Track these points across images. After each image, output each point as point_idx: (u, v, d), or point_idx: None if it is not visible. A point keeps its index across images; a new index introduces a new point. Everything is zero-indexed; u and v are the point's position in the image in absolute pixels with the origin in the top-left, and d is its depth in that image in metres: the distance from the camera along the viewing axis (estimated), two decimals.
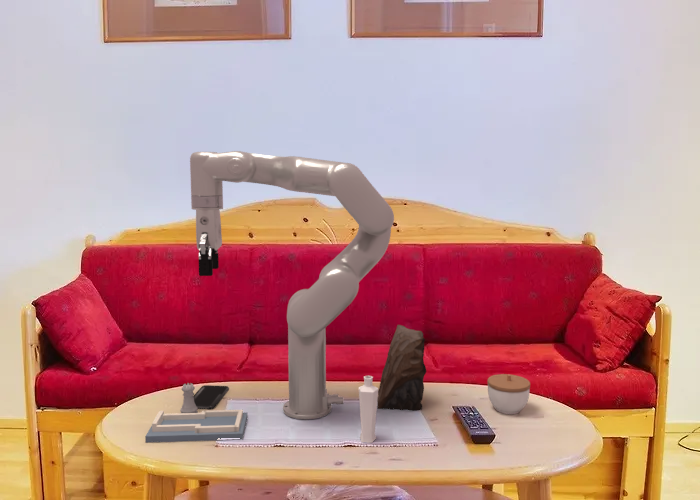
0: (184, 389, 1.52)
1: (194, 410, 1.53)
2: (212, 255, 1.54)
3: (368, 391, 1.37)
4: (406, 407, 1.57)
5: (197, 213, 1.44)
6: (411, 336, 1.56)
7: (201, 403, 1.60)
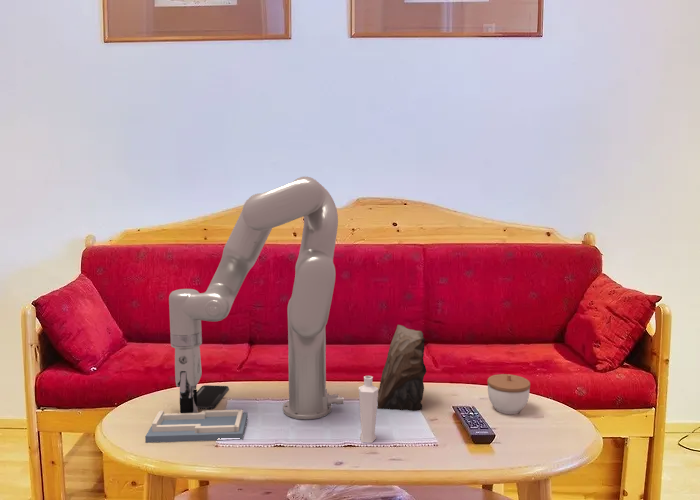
0: None
1: (194, 410, 1.53)
2: None
3: (368, 391, 1.37)
4: (406, 407, 1.57)
5: (176, 352, 1.47)
6: (411, 336, 1.56)
7: (201, 403, 1.60)
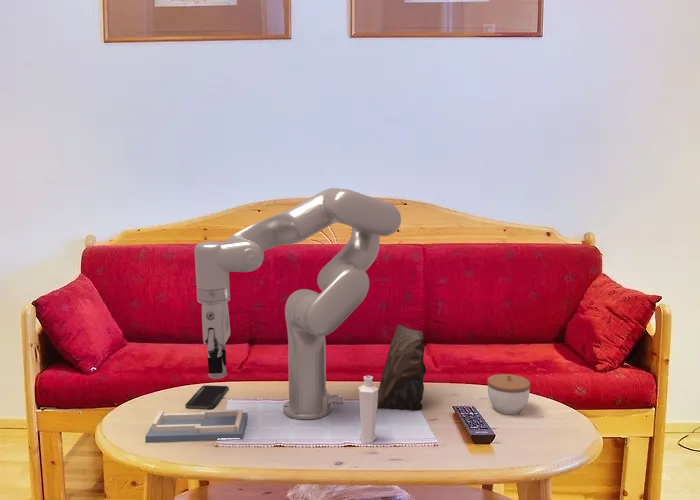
0: None
1: (223, 370, 1.44)
2: None
3: (368, 391, 1.37)
4: (406, 407, 1.57)
5: (203, 308, 1.38)
6: (411, 336, 1.56)
7: (201, 402, 1.60)
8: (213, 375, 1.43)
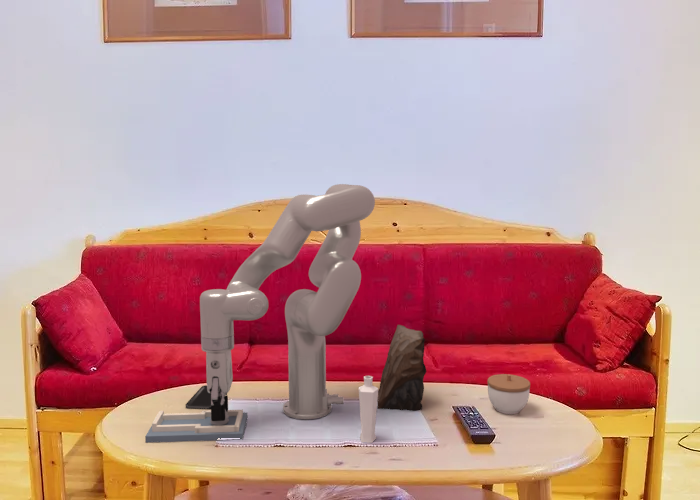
0: None
1: (225, 417, 1.44)
2: None
3: (368, 391, 1.37)
4: (406, 407, 1.57)
5: (207, 356, 1.39)
6: (411, 336, 1.56)
7: (201, 402, 1.60)
8: (215, 422, 1.44)
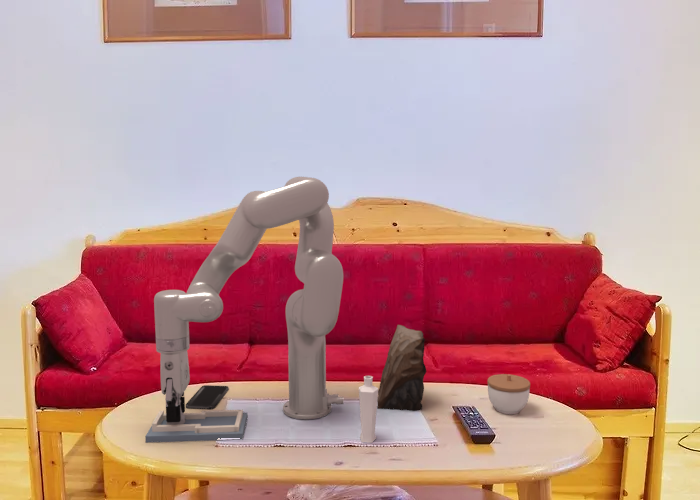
0: None
1: (181, 419, 1.43)
2: None
3: (368, 391, 1.37)
4: (406, 407, 1.57)
5: (161, 357, 1.38)
6: (411, 336, 1.56)
7: (201, 403, 1.60)
8: (171, 423, 1.43)
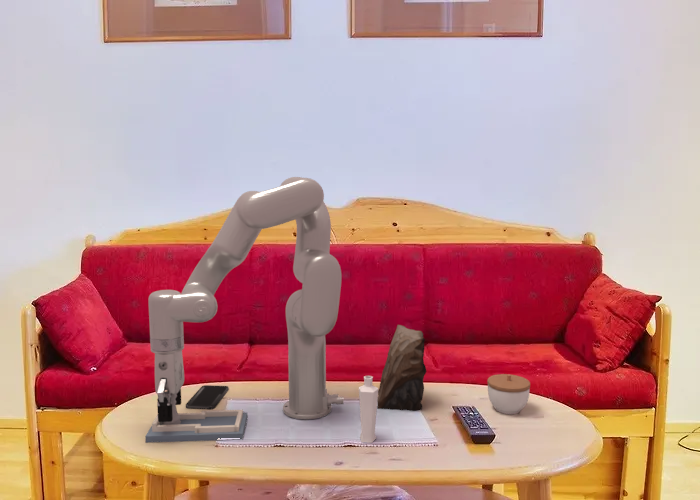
0: (166, 397, 1.43)
1: (176, 419, 1.43)
2: None
3: (368, 391, 1.37)
4: (406, 407, 1.57)
5: (156, 358, 1.38)
6: (411, 336, 1.56)
7: (201, 403, 1.60)
8: (166, 424, 1.43)
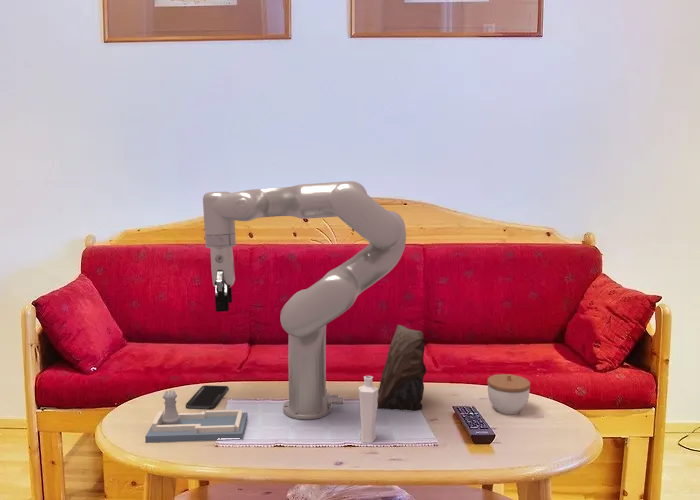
0: (165, 397, 1.42)
1: (176, 419, 1.43)
2: None
3: (368, 391, 1.37)
4: (406, 407, 1.57)
5: (212, 252, 1.49)
6: (411, 336, 1.56)
7: (201, 403, 1.60)
8: (166, 424, 1.43)
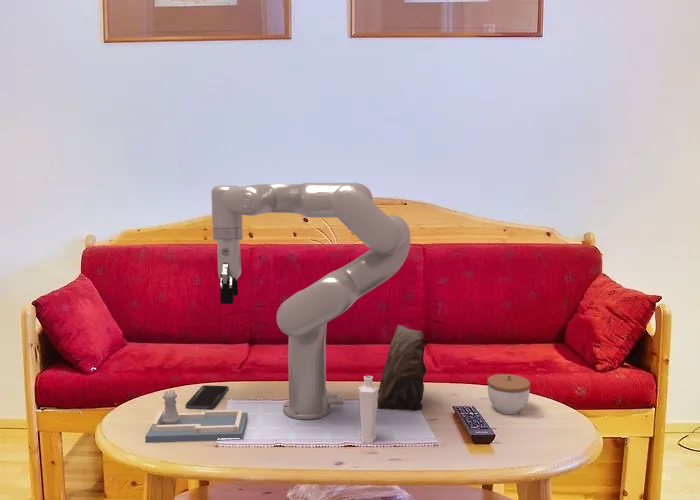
0: (165, 397, 1.42)
1: (176, 419, 1.43)
2: (232, 282, 1.62)
3: (368, 391, 1.37)
4: (406, 407, 1.57)
5: (219, 244, 1.51)
6: (411, 336, 1.56)
7: (201, 403, 1.60)
8: (166, 424, 1.43)
